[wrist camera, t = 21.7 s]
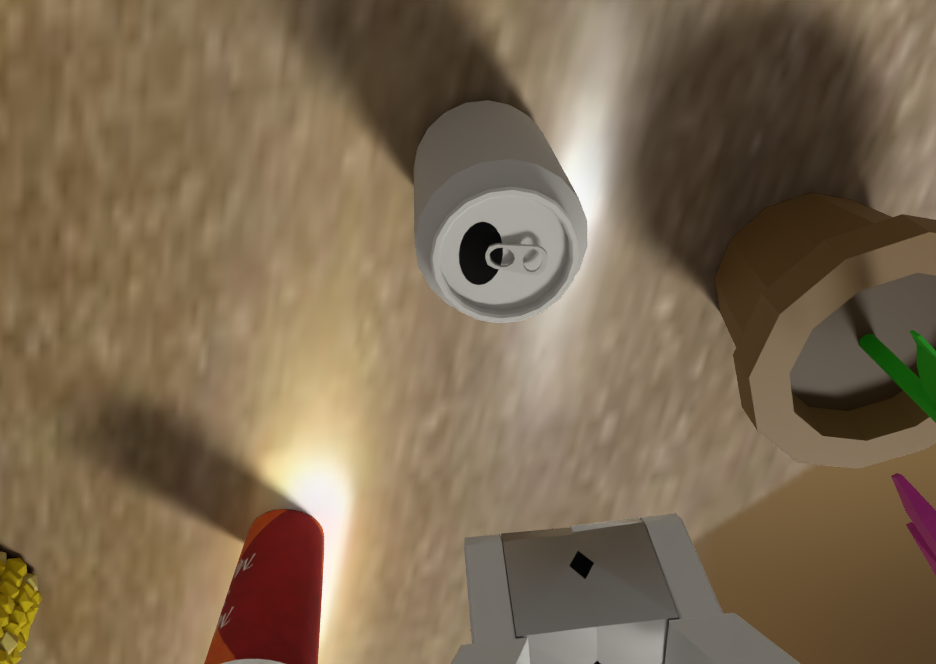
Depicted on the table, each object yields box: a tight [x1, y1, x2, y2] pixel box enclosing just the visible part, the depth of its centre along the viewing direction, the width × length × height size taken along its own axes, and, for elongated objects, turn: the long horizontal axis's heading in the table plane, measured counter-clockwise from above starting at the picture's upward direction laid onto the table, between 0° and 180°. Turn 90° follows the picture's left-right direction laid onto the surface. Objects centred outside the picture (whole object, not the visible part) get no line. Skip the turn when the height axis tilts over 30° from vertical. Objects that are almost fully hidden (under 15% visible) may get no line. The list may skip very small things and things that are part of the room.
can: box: [414, 100, 587, 323], centre depth 34 cm, size 8×8×12 cm
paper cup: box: [204, 509, 324, 664], centre depth 47 cm, size 8×8×14 cm
